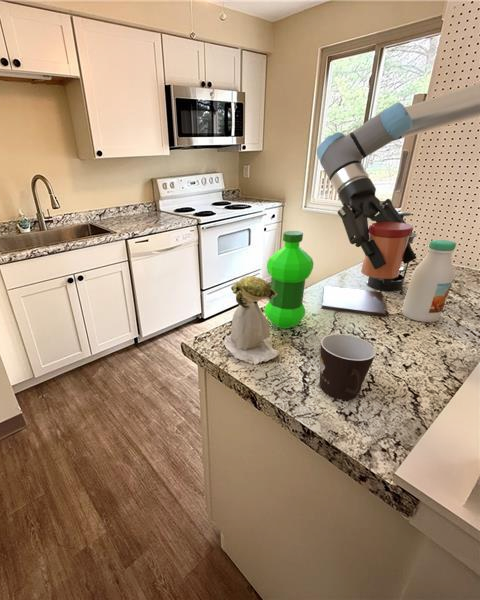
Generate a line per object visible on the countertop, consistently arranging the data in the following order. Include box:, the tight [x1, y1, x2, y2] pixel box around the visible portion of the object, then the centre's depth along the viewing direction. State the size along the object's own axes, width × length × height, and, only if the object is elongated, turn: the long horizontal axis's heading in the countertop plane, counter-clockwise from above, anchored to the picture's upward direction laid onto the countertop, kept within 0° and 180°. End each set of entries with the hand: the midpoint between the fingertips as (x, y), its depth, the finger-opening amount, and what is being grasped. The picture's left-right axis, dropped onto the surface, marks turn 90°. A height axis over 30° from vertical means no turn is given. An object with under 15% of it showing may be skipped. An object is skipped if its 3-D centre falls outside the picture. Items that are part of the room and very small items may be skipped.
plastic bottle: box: [264, 230, 314, 329], centre depth 79 cm, size 10×10×25 cm
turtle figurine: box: [223, 275, 280, 366], centre depth 72 cm, size 12×13×18 cm
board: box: [320, 285, 387, 318], centre depth 92 cm, size 15×15×1 cm
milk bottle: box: [401, 239, 457, 323], centre depth 77 cm, size 8×8×20 cm
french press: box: [366, 211, 418, 292], centre depth 94 cm, size 12×9×23 cm
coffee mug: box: [319, 333, 377, 401], centre depth 58 cm, size 12×9×10 cm
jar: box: [360, 233, 409, 279], centre depth 75 cm, size 8×8×12 cm
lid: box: [368, 222, 414, 237], centre depth 73 cm, size 8×8×2 cm
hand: (395, 263), depth 73 cm, fingers closed on jar, 8 cm apart
